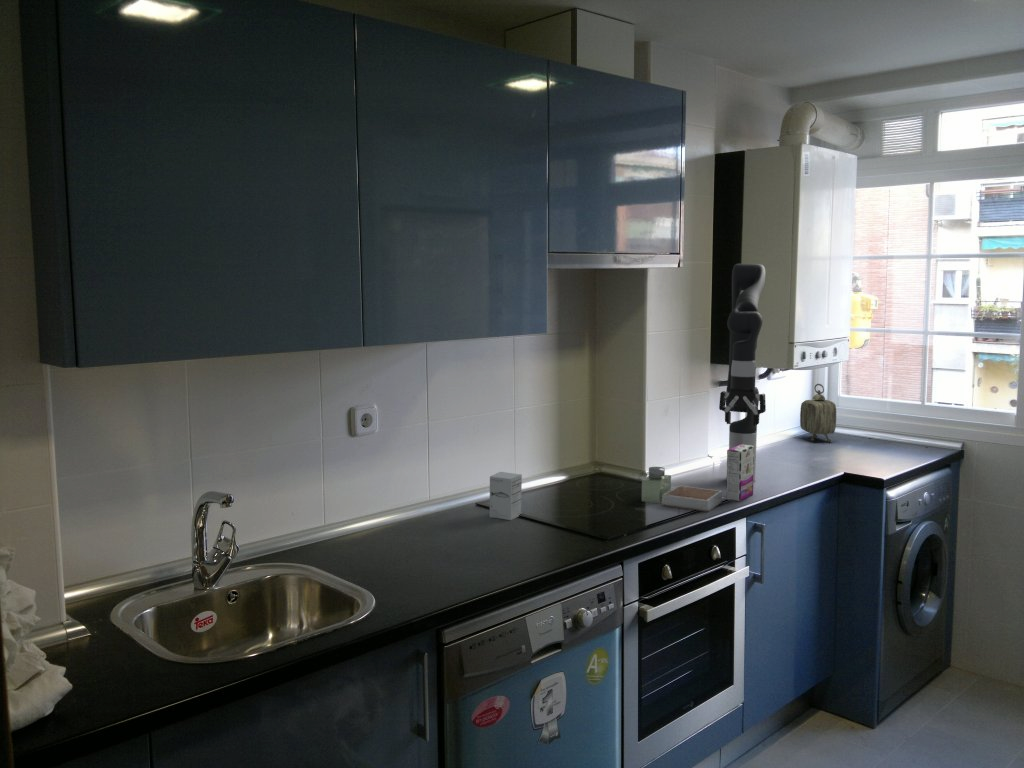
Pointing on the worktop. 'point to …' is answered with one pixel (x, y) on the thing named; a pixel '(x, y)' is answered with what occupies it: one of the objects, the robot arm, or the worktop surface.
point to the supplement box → (505, 495)
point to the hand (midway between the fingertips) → (741, 424)
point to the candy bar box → (740, 472)
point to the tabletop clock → (818, 415)
